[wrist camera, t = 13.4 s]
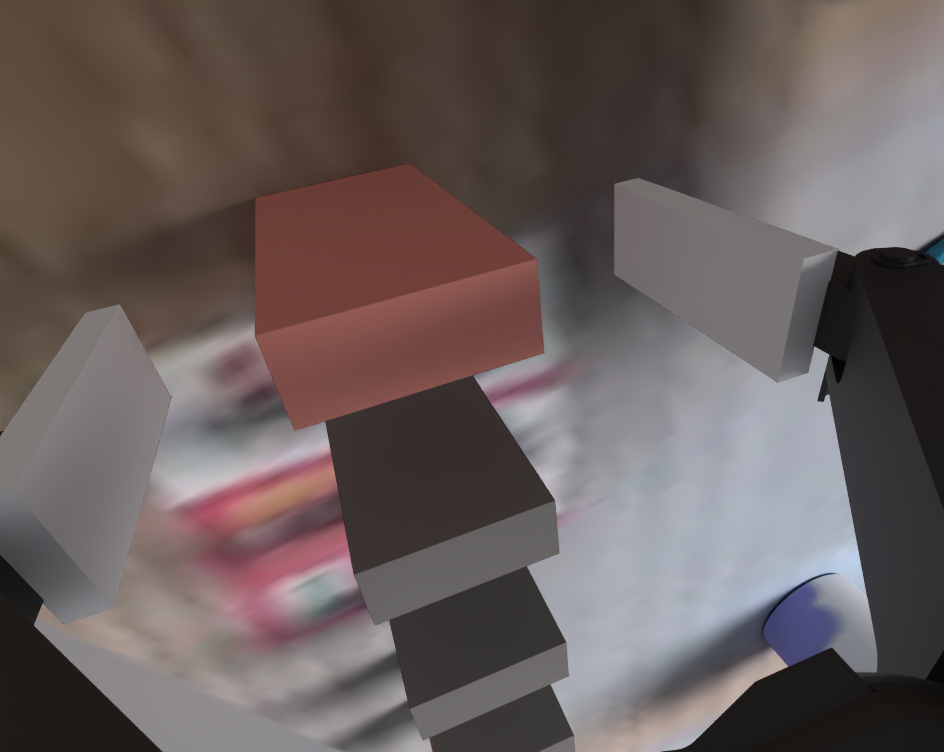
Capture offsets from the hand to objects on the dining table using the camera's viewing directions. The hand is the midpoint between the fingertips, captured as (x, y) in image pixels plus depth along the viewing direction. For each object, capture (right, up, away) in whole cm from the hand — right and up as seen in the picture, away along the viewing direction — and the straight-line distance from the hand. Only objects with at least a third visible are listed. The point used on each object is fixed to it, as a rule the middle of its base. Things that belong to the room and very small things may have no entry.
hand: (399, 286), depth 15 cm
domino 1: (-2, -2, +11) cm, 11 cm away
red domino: (-3, +4, +7) cm, 9 cm away
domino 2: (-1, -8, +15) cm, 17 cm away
